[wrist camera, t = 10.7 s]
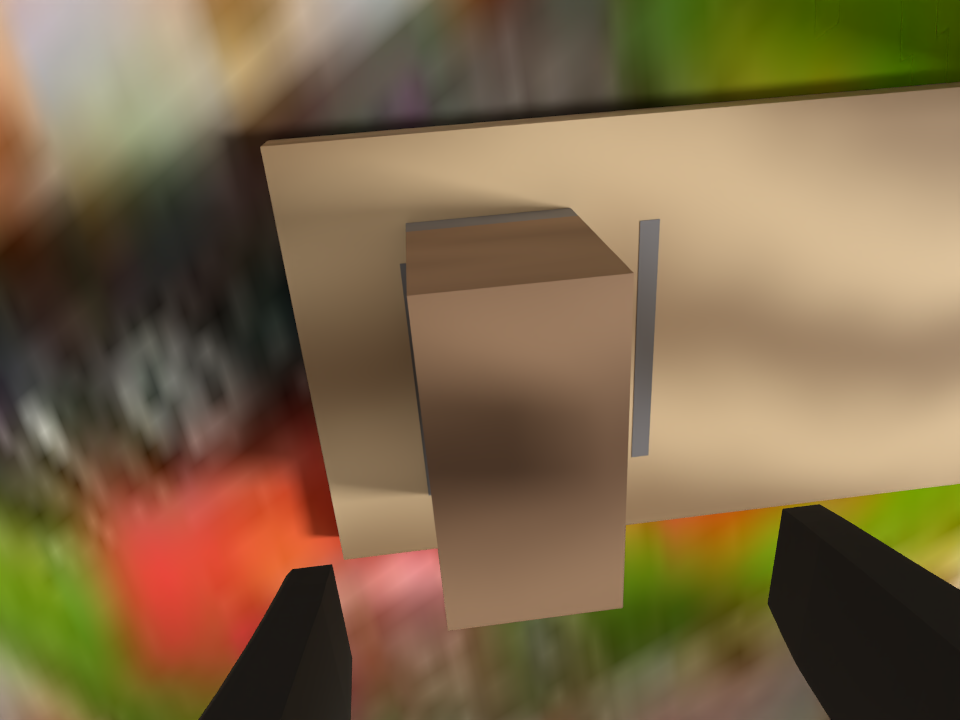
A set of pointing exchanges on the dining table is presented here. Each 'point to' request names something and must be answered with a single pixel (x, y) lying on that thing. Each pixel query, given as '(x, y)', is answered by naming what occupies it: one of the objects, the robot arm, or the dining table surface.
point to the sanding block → (523, 411)
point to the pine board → (661, 292)
